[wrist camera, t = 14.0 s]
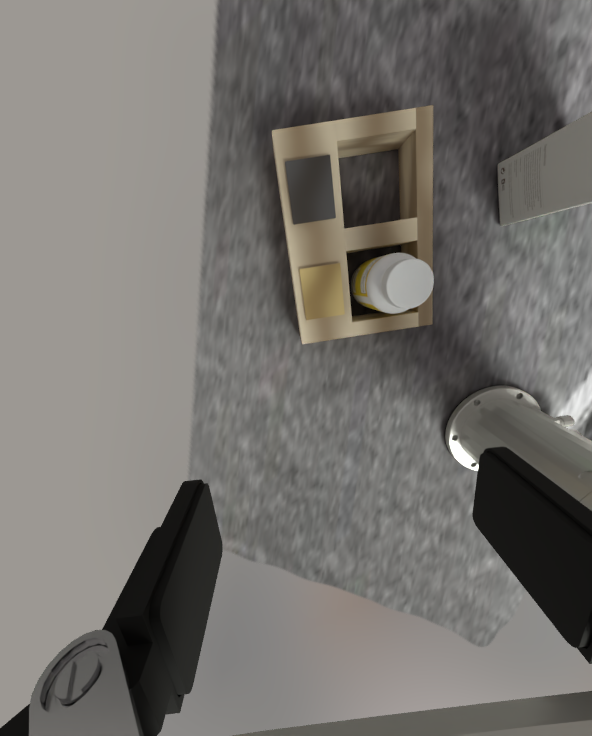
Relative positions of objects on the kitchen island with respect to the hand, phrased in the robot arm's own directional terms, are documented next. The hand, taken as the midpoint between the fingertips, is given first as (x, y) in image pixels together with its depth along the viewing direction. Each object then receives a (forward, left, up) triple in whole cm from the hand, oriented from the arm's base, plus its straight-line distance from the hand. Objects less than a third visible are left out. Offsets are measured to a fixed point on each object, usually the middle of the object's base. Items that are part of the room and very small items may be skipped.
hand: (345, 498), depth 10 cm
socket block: (-7, -10, -25) cm, 28 cm away
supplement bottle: (-9, -5, -26) cm, 28 cm away
